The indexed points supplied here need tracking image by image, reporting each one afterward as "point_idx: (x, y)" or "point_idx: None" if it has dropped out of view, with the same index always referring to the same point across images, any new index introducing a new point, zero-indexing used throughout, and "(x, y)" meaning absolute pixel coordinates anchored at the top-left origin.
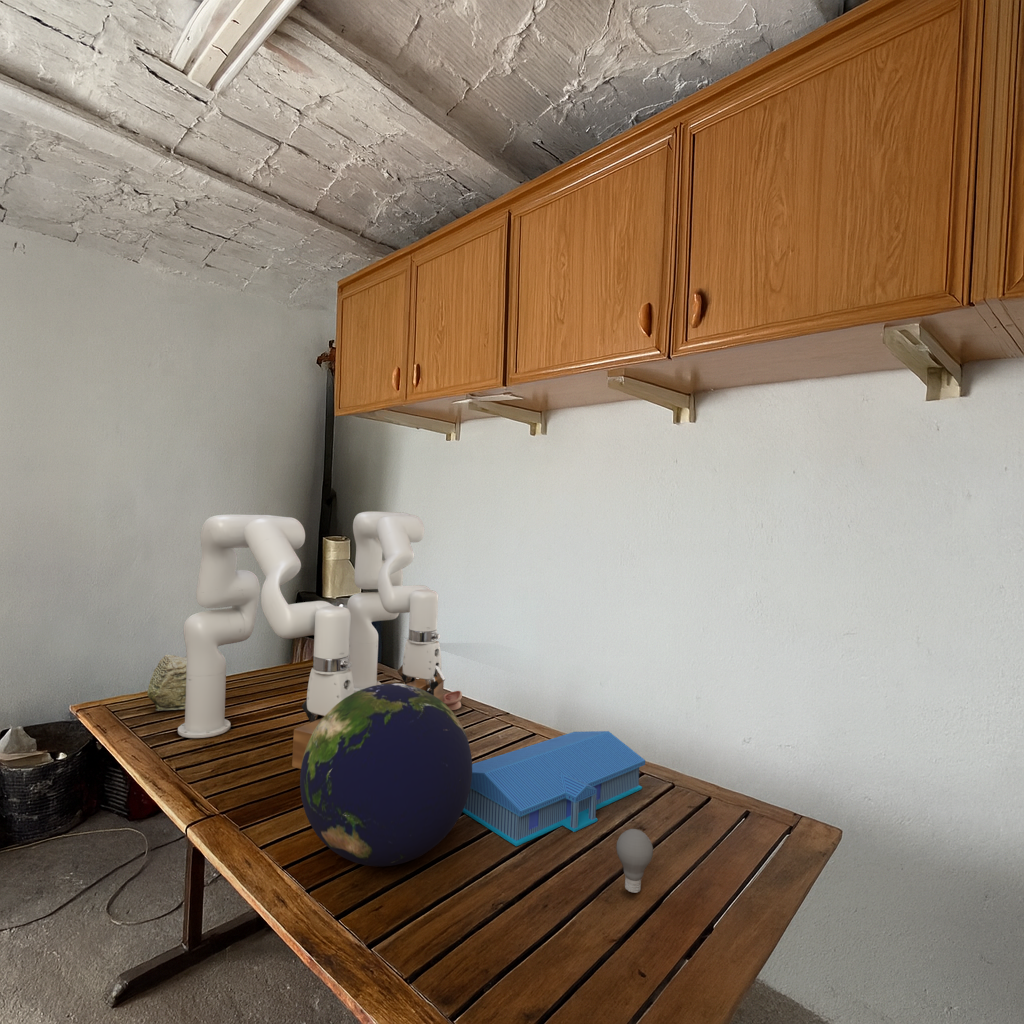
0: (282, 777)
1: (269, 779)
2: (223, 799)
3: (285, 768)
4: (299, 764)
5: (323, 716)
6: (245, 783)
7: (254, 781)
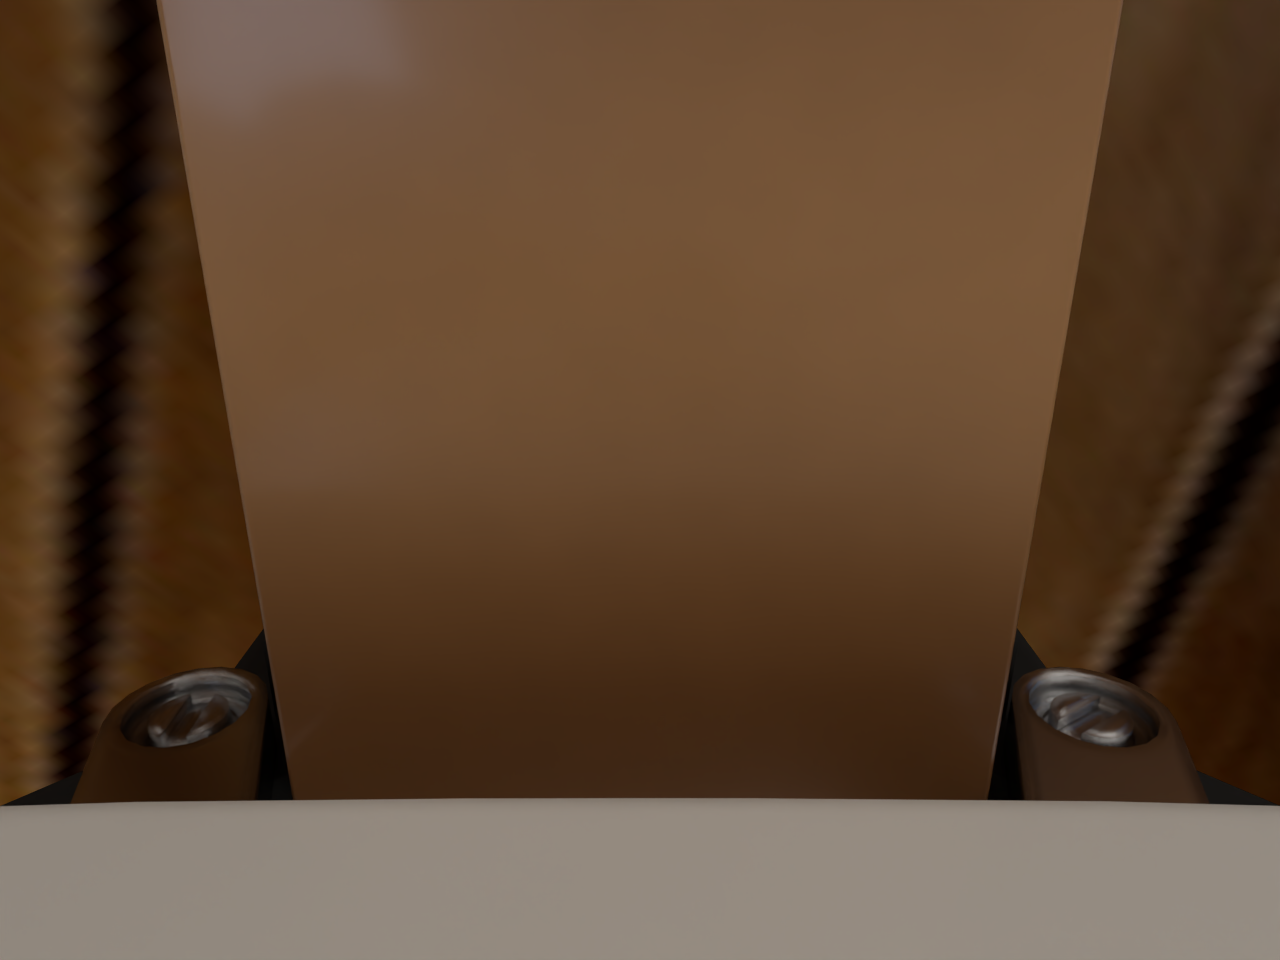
0: (182, 494)
1: (130, 579)
2: None
3: (14, 332)
4: None
5: (257, 794)
6: (51, 720)
7: (70, 664)
